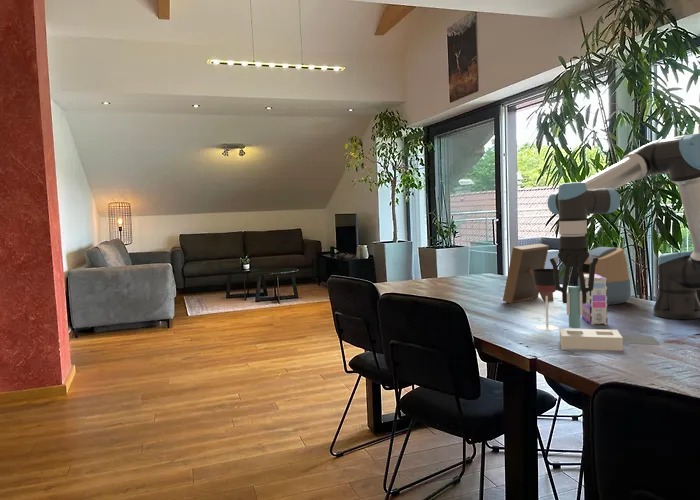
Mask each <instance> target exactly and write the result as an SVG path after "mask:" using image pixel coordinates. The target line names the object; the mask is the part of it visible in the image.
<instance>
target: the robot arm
mask: <svg viewBox="0 0 700 500" xmlns="http://www.w3.org/2000/svg"><path fill="white" fill-rule="evenodd" d="M665 174H668V175H669V179H670V182H671V183H673V184H675V185H677V187H678V192H679V195H680V199H681V203H682V204H681V205H682V208H683V211H684V212H683V213H684V216H685V219H686V223H687V226H688V227H687V228H688V231H689V235H690V236H689V237H690V238H691V243H692V245H693V250H688V251H680V252H679V251H677V252H668V253H667V252H666V253H661V254H660V255H659V257H658V263H657V269H658V273H657V275H658V276H657V277H658V295H657V297H656V300H655V303H654V305H653V310H652V311H653V315H654V316H656V317H660V318H665V319H672V320H673V319H675V320H676V319H677V320H692V319H694V320H695V319H700V300H699V297H698V295H697V290H700V133H694V134H693V133H687V134H683V135H678V136H672V137H668V138H662V139H661V138H660V139H657V140H654V141H651V142H649V143H647V144H644V145H642V146H640V147H638V148H637V149H634V150H632V151H630V152H629V153H627V154H626V155H624V156H623V157H622V158H621V160H620V161H618V162H617V163H614V164H612V165H610V166H609V167H607V168H605V169H604V170H602V171H600V172H597V173H596V174H594V175H592V176H590V177H589V178H587V179H584V180H582V181H579V182H565V183H561V184H559V186H558V191H556V192H552V193H551V194H550V196H548V199H547V208H548V210H549V211H550V212H551V213H552V214H554V215H558V220H559V221H558V234H559V235H560V237H559V239H558V240H559V242H558V243H559V246H558V247H559V251H558V253H557V255H556V256H553V257H550V258H549V262H550V263H551V265H552V269H553V272H554V279H555V287H556V291H559V292H561V295H562V297H561V298H562V300H561V301H562V303H563V304H566V305H565V306H566V315H567V316H569V315H570V293H568V287H569V285H568V284H569V278H570V271H571V268H573V267H574V268H576V269H577V274H578V278H579V280H580V286H581V292H580V293H579V303H580V316H582V315H583V308H582V304H586V293H587V292H588V291H592V290H593V285H594V275H595V265H596V264H597V262H598V258H597V257H593V256H591V255H589V253H588V252H589V251H588V237H587V235H586V234H588V224H587V221H588V220H587V217H588V215H597V214H598V215H600V214H605V215H606V214H611V213H614V212H616V211H617V210H618V208H619V207H620V205H621V197H620V193H618V191H617V190H616V189H619V188H620V187H623V186H624V185H626V184H629V183H630V182H632V181H639V180H643V178H646V177H648V176H654V175H665ZM588 258H589V263H590V269H589V280H588V287H586V285H585V279H584V274H583V267H582V265H583V264H584V262H585V261H586V260H587V259H588ZM559 260H560V261H561V262H562V264H563V265H564V271H563V278H562V279H563V280H562V286H561V283H560V275H558V270H559V269H558V264H559Z"/></svg>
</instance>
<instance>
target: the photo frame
mask: <svg viewBox="0 0 700 500" xmlns="http://www.w3.org/2000/svg"><path fill="white" fill-rule="evenodd" d="M549 247H550V245H548V244H544V243H533V244H526V245H525V244H524V245H519V246H513V247H512V251H511V256H510V260H509V266H508V270H507V271H508V272H507V276H506V277H507V278H506V281H505V282H506V283H505V287H504V292H503V298H502V301H503V302H506V303H508V304H510V305H511V304H512V303H513V304H517V303H521V302H524V300H525V301H529V300H532V299H531V298H533V299H536V298H535V297H537V298H538V297H539V295H540V297H541V299H542V301H543V302H544V301H545V302H546V296H545V295H544V294H542V293H540V292H539V291H538V290H537V289H536V287H535V284H534V278H533V270H535V269H545V267H546V266H545V265H546V262H547V257H548V254H549V253H548V252H549ZM553 293H554V292H553ZM553 293H552V294H550V295H548V302H553V301H554V294H553ZM528 299H529V300H528ZM520 301H521V302H520ZM516 302H517V303H516ZM513 304H512V305H513Z"/></svg>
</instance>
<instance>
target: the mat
mask: <svg viewBox="0 0 700 500" xmlns="http://www.w3.org/2000/svg"><path fill="white" fill-rule="evenodd" d="M621 336H622V337H623V345H624V344H625V345H626V344H627V345H656V346H658V345H660V346H661V343H660V342H659V341H658V340H657V339H656V338H655V337H654V336H652V335H651V336H649V335H647V336H646V335H645V336H644V335H621Z"/></svg>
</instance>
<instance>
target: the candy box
mask: <svg viewBox="0 0 700 500" xmlns="http://www.w3.org/2000/svg"><path fill="white" fill-rule="evenodd" d="M584 279H585V285H586V287H588V280H589V274H584ZM582 308H583V315H581V319H583V320H584V321H585V322H587V323H588V324H589V325H590V326H608V325H609V324H608V322H609V321H608V305H607V278H604V277H602V276H600V275H597V274H595V275H594V285H593V290H592V291H588V292H587V293H586V304H582Z"/></svg>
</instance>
